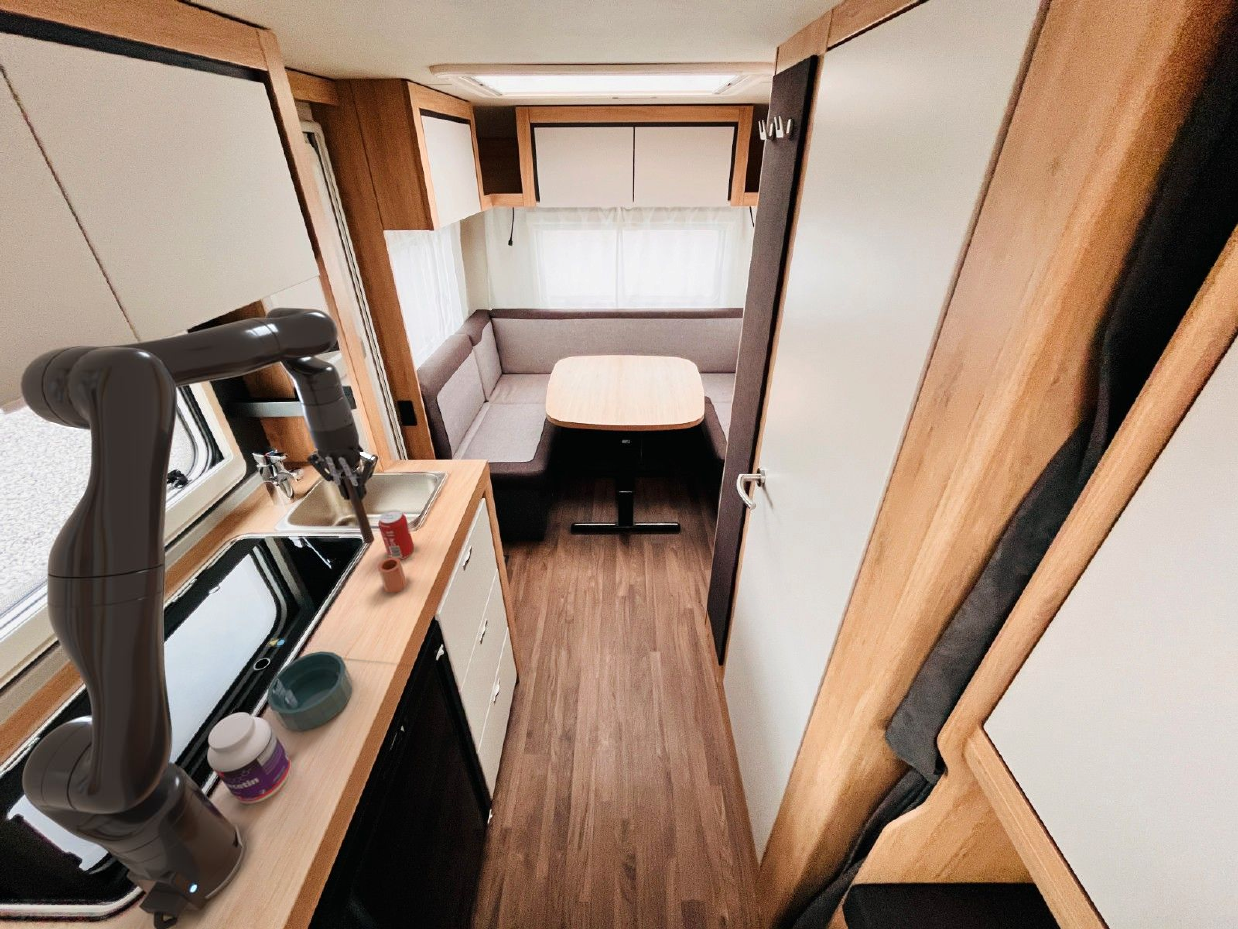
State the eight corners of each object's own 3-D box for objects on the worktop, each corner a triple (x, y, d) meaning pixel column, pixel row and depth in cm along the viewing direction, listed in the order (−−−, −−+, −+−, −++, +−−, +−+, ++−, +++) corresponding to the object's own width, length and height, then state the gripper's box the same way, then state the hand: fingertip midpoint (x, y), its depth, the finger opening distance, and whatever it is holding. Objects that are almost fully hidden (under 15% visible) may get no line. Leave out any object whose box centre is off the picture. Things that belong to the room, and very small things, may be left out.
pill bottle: (224, 804, 80) (182, 755, 72) (258, 752, 86) (223, 702, 79) (273, 808, 79) (236, 759, 72) (304, 756, 86) (273, 706, 78)
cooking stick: (371, 544, 106) (350, 480, 98) (362, 543, 106) (340, 479, 98) (376, 537, 108) (356, 474, 99) (367, 537, 108) (346, 473, 99)
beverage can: (420, 547, 130) (409, 510, 124) (405, 564, 125) (394, 526, 119) (398, 543, 132) (387, 506, 125) (383, 559, 126) (371, 522, 120)
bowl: (329, 736, 89) (319, 717, 86) (263, 729, 90) (249, 709, 87) (366, 674, 99) (358, 654, 96) (306, 668, 100) (296, 648, 97)
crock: (401, 595, 117) (394, 573, 113) (381, 593, 117) (373, 571, 113) (410, 580, 121) (404, 558, 117) (391, 578, 121) (384, 556, 117)
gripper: (280, 427, 89) (311, 506, 98) (354, 431, 88) (378, 511, 97) (307, 409, 96) (333, 485, 105) (376, 413, 95) (397, 489, 104)
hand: (355, 497), depth 101 cm, fingers closed on cooking stick, 2 cm apart
